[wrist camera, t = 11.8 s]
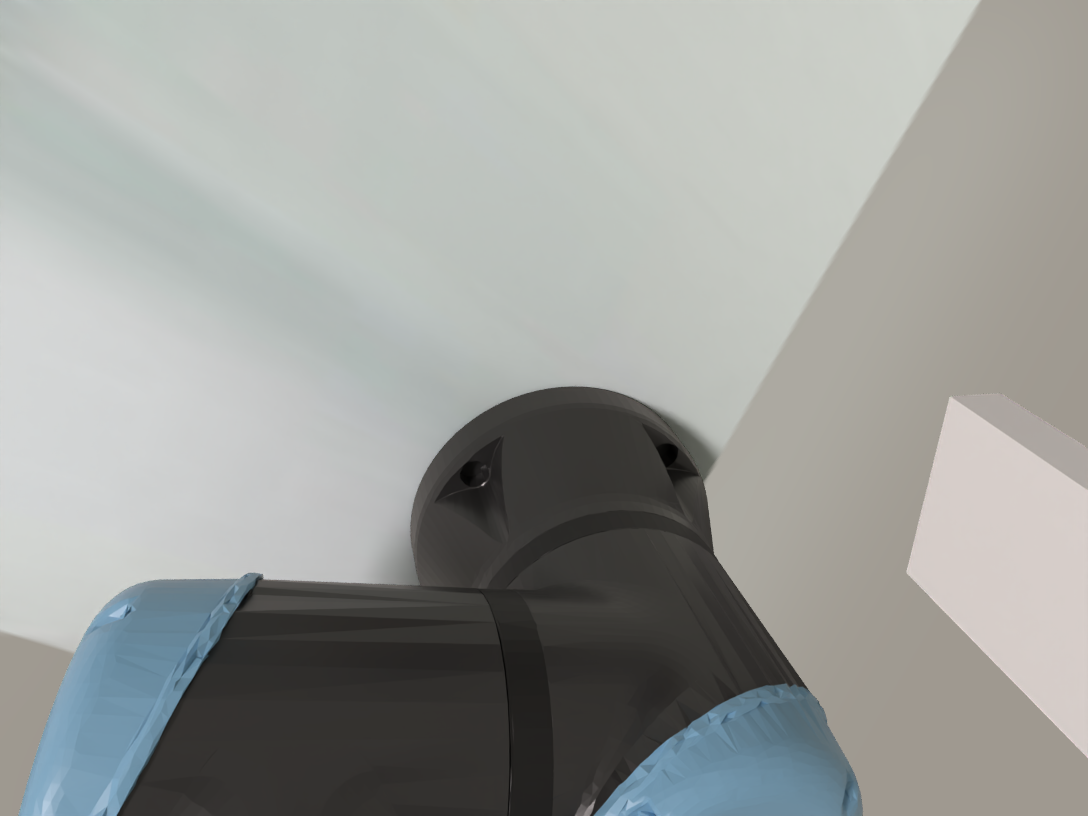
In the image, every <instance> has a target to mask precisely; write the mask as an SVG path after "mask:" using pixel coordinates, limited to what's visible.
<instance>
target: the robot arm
mask: <svg viewBox="0 0 1088 816" xmlns="http://www.w3.org/2000/svg"><path fill="white" fill-rule="evenodd" d="M410 526H411V544H412V550H413V555H414V560H415V566H416V571H417V575H418V579H419V582H420V585H421V586H412V585H388V584H363V583H338V582H313V581H289V580H264V579H263V574H258V573H248V574H245V575H244V576H243V577H241V578H240V579H180V580H153V581H147V582H143V583H139V584H136V585H134V586H131V587H129V588H127V589H126V590H124V591H122V592H121V593H119V594H118V595H117V596H115V597H114V598H113V599H112V600H111V601H110V602H108V603H107V604H106V605H105V606H104V607H103V609H102V610H101V611H100V612H99V613H98V614H97V616H96V617H95V618H94V620H93V621H92V623H91V624H90V626H89V628H88V629H87V631H86V632H85V634H84V636H83V638H82V640H81V642H80V644H79V646H78V648H77V650H76V652H75V654H74V656H73V658H72V660H71V662H70V665H69V667H68V669H67V671H66V674H65V677H64V679H63V681H62V684H61V686H60V688H59V691H58V693H57V696H56V699H55V702H54V704H53V707H52V710H51V712H50V715H49V718H48V721H47V723H46V726H45V729H44V732H43V735H42V738H41V741H40V744H39V747H38V750H37V753H36V756H35V760H34V763H33V766H32V770H31V773H30V776H29V779H28V783H27V786H26V790H25V794H24V797H23V801H22V804H21V808H20V812H19V815H18V816H863V815H862V813H863V808H862V799H861V793H860V790H859V786H858V783H857V780H856V777H855V774H854V772H853V770H852V768H851V766H850V764H849V762H848V760H847V759H846V757H845V755H844V753H843V752H842V750H841V748H840V746H839V745H838V743H837V741H836V739H835V737H834V736H833V734H832V732H831V730H830V729H829V727H828V725H827V719H826V715H825V712H824V710H823V708H822V707H821V706H820V704H819V701H818V700H817V699H816V698H815V697H814V696H813V695H812V694H811V693H810V691H809V690H808V688H807V687H806V686H805V684H804V683H803V682H802V680H801V678H800V677H799V676H798V674H797V673H796V672H795V670H794V668H793V667H792V666H791V664H790V663H789V661H788V660H787V658H786V657H785V656H784V654H783V653H782V651H781V650H780V648H779V647H778V646H777V644H776V643H775V642H774V640H773V638H772V637H771V636H770V634H769V633H768V632H767V630H766V628H765V627H764V626H763V624H762V623H761V621H760V620H759V619H758V617H757V616H756V614H755V613H754V611H753V610H752V609H751V607H750V606H749V604H748V603H747V601H746V600H745V598H744V597H743V596H742V594H741V593H740V591H739V590H738V589H737V587H736V586H735V584H734V583H733V581H732V580H731V579H730V577H729V576H728V574H727V573H726V571H725V570H724V569H723V567H722V566H721V564H720V563H719V562H718V560H717V558H716V557H715V555H714V552H713V544H712V535H711V527H710V518H709V510H708V502H707V496H706V491H705V487H704V483H703V480H702V478H701V475H700V473H699V470H698V468H697V466H696V464H695V462H694V460H693V458H692V457H691V455H690V453H689V452H688V451H687V449H686V448H685V446H684V445H683V444H682V442H681V441H680V440H679V438H678V437H677V436H676V434H675V433H674V432H673V430H672V429H671V428H670V427H669V426H668V425H667V423H666V422H665V421H664V420H663V419H661V418H660V417H659V416H658V415H657V414H656V413H654V412H653V411H652V410H650V409H649V408H647V407H646V406H644V405H643V404H641V403H639V402H637V401H635V400H633V399H631V398H628V397H626V396H624V395H621V394H618V393H615V392H611V391H607V390H602V389H596V388H588V387H558V388H550V389H544V390H539V391H534V392H531V393H527V394H524V395H520V396H517V397H515V398H512V399H510V400H507V401H505V402H503V403H500V404H498V405H496V406H494V407H492V408H491V409H489V410H487V411H485V412H484V413H482V414H480V415H479V416H477V417H476V418H474V419H473V420H472V421H470V422H469V423H468V424H466V425H465V426H464V427H463V428H462V429H460V430H459V431H458V432H457V433H456V434H455V435H454V436H453V437H452V438H451V439H450V440H449V441H448V442H447V443H446V444H445V445H444V446H443V448H442V449H441V450H440V451H439V453H438V454H437V455H436V457H435V458H434V459H433V461H432V463H431V464H430V466H429V467H428V469H427V471H426V473H425V474H424V476H423V478H422V481H421V483H420V485H419V488H418V491H417V493H416V496H415V500H414V504H413V509H412V514H411V525H410ZM906 573H907V574H908V575H909V576H910V577H911V578H912V579H913V580H914V581H915V582H916V583H917V584H918V585H919V586H920V587H921V588H922V589H923V590H924V591H925V592H926V593H927V594H928V595H929V596H930V597H931V598H932V600H933V601H934V602H935V603H936V604H937V605H938V606H940V608H941V609H942V610H943V611H944V612H945V613H946V614H947V615H948V616H949V617H950V618H951V619H952V620H953V621H954V622H955V623H956V624H957V625H958V626H959V627H960V628H961V629H962V630H963V631H964V632H965V633H966V634H967V635H968V636H969V637H970V638H971V639H972V640H973V641H974V642H975V643H976V644H977V645H978V646H979V647H980V648H981V650H982V651H984V653H985V654H986V655H988V657H989V658H990V659H991V660H992V661H993V662H994V663H995V664H996V665H997V666H998V667H999V668H1000V669H1001V670H1002V671H1003V672H1004V673H1005V674H1006V675H1007V676H1008V677H1009V678H1010V679H1011V680H1012V681H1013V682H1014V683H1015V684H1016V685H1017V686H1018V687H1019V688H1020V689H1021V690H1022V691H1023V692H1024V693H1025V694H1026V695H1027V696H1028V697H1029V698H1030V699H1031V700H1032V701H1033V702H1034V703H1035V705H1036V706H1037V707H1038V708H1039V709H1040V710H1041V711H1042V712H1043V713H1044V714H1045V715H1046V716H1047V717H1048V718H1049V719H1050V720H1051V721H1052V722H1053V723H1054V724H1055V725H1056V726H1057V727H1058V728H1059V729H1060V730H1061V731H1062V732H1063V733H1064V734H1065V735H1066V736H1067V737H1068V738H1069V739H1070V740H1071V741H1072V742H1073V743H1074V744H1075V745H1076V746H1077V747H1078V748H1079V749H1080V750H1081V751H1082V753H1083V754H1084V755H1085V756H1086V757H1087V758H1088V448H1087V447H1086V446H1084V445H1082V444H1081V443H1079V442H1078V441H1076V440H1074V439H1073V438H1071V437H1070V436H1068V435H1066V434H1065V433H1063V432H1062V431H1060V430H1058V429H1057V428H1055V427H1054V426H1052V425H1051V424H1049V423H1047V422H1046V421H1044V420H1042V419H1041V418H1039V417H1038V416H1036V415H1035V414H1033V413H1032V412H1030V411H1028V410H1027V409H1025V408H1024V407H1022V406H1020V405H1019V404H1017V403H1016V402H1014V401H1012V400H1011V399H1009V398H1007V397H1006V396H1004V395H1003V394H1001V393H995V394H979V395H962V396H950V398H949V402H948V406H947V410H946V415H945V418H944V422H943V426H942V430H941V434H940V438H939V443H938V447H937V450H936V454H935V458H934V462H933V467H932V471H931V475H930V479H929V483H928V487H927V491H926V495H925V499H924V503H923V507H922V511H921V515H920V519H919V523H918V528H917V531H916V535H915V539H914V543H913V547H912V551H911V555H910V559H909V563H908V567H907V571H906Z"/></svg>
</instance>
